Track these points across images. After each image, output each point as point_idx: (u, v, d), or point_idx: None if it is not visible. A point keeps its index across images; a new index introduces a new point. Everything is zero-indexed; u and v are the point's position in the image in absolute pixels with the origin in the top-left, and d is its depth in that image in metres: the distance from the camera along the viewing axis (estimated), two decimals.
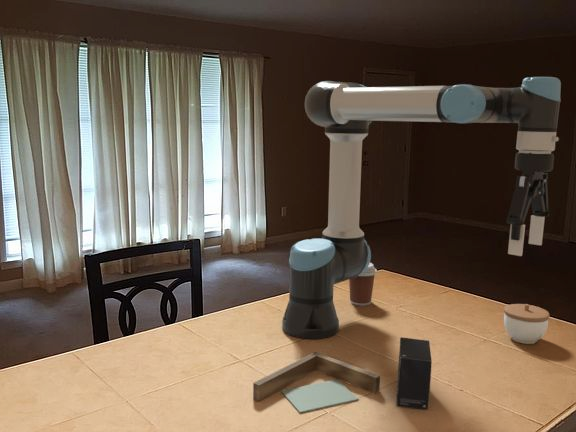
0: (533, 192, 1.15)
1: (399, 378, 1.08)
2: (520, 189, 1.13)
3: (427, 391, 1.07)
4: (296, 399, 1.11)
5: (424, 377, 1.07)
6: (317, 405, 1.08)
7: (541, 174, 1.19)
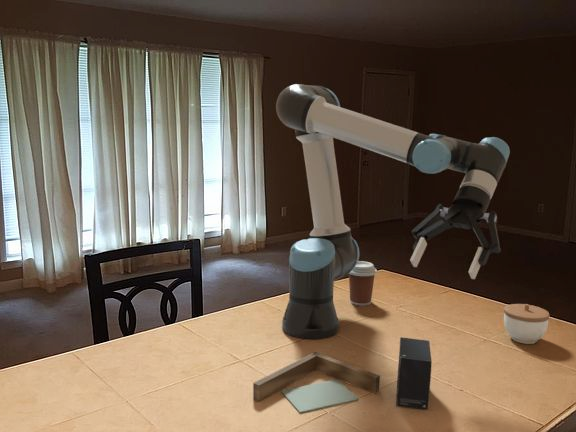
0: None
1: (399, 378, 1.08)
2: (495, 223, 1.21)
3: (427, 391, 1.07)
4: (296, 399, 1.11)
5: (424, 377, 1.07)
6: (317, 405, 1.08)
7: None
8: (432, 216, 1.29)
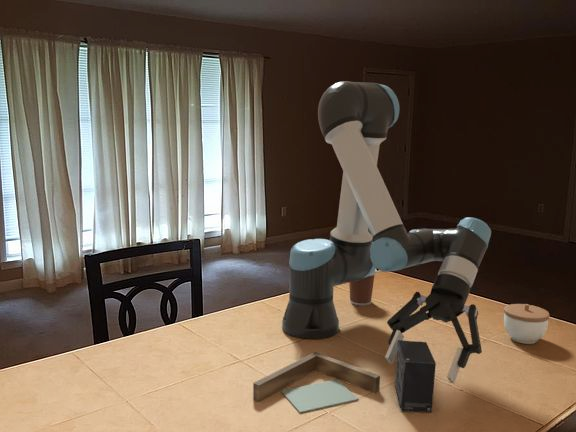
0: None
1: (403, 382, 1.06)
2: (475, 319, 1.12)
3: (431, 394, 1.06)
4: (296, 399, 1.11)
5: (429, 380, 1.06)
6: (317, 405, 1.08)
7: None
8: (409, 305, 1.20)
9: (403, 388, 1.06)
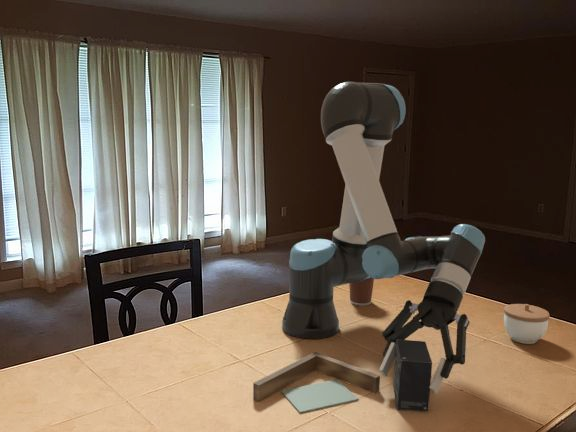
0: (448, 330, 1.15)
1: (400, 381, 1.07)
2: (464, 329, 1.11)
3: (428, 393, 1.06)
4: (296, 399, 1.11)
5: (425, 379, 1.06)
6: (317, 405, 1.08)
7: None
8: (402, 315, 1.19)
9: (399, 387, 1.07)
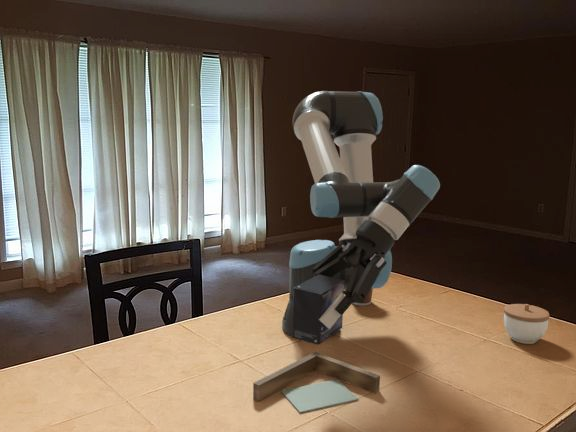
0: None
1: (293, 309, 1.06)
2: (375, 269, 1.04)
3: (318, 325, 1.03)
4: (296, 399, 1.11)
5: (315, 310, 1.03)
6: (317, 405, 1.08)
7: None
8: (333, 253, 1.16)
9: (293, 315, 1.06)
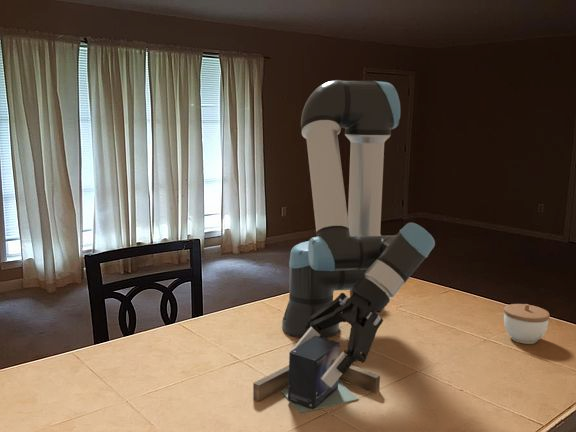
0: None
1: (289, 373, 1.09)
2: (373, 327, 1.06)
3: (312, 390, 1.06)
4: None
5: (310, 375, 1.06)
6: None
7: None
8: (330, 305, 1.18)
9: (289, 378, 1.09)
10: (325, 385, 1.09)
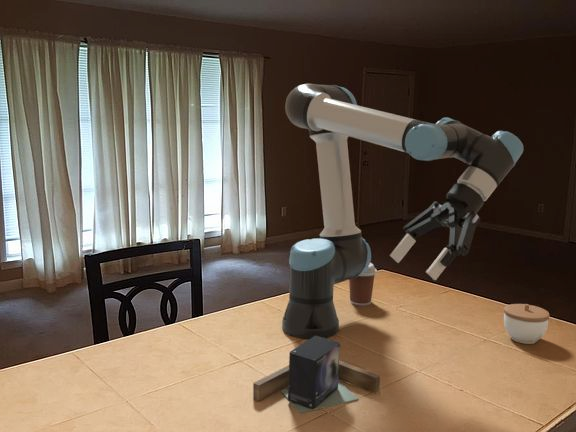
0: (462, 228, 1.18)
1: (289, 373, 1.09)
2: (472, 224, 1.14)
3: (312, 390, 1.06)
4: None
5: (310, 375, 1.06)
6: None
7: None
8: (424, 213, 1.26)
9: (289, 378, 1.09)
10: (325, 385, 1.09)
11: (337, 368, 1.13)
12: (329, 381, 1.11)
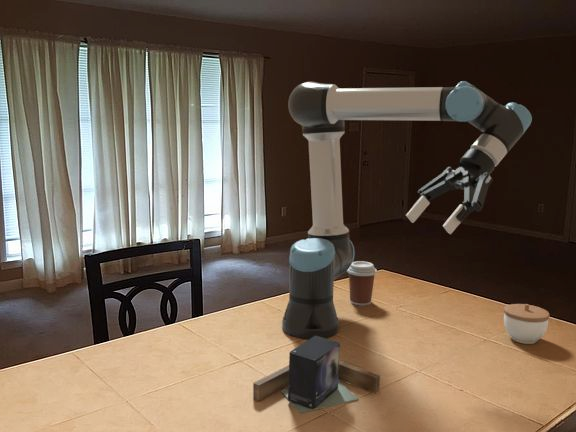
0: (475, 189, 1.28)
1: (289, 373, 1.09)
2: (485, 184, 1.24)
3: (312, 390, 1.06)
4: None
5: (310, 375, 1.06)
6: None
7: None
8: (438, 177, 1.36)
9: (289, 378, 1.09)
10: (325, 385, 1.09)
11: (337, 368, 1.13)
12: (329, 381, 1.11)
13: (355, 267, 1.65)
